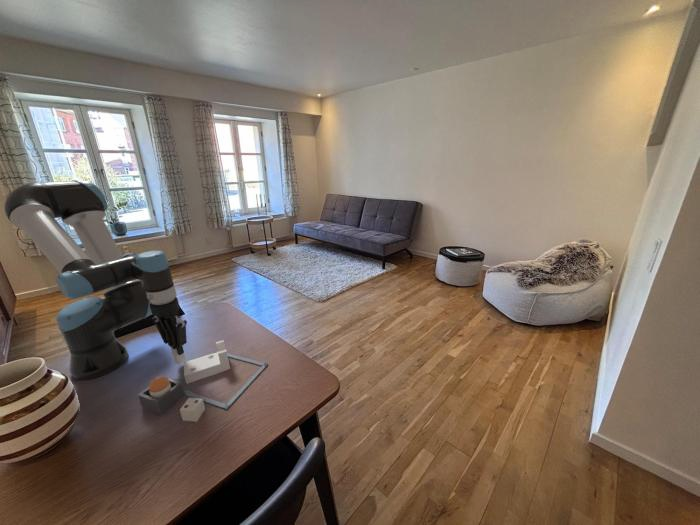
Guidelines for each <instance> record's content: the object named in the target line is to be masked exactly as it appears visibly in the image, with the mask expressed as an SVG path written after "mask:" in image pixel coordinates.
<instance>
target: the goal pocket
mask: <svg viewBox="0 0 700 525" xmlns="http://www.w3.org/2000/svg"><path fill="white" fill-rule="evenodd" d="M227 355H228V358H231V359H234V360H238V361H241V362H245V363H249V364H253V365H257V366H259V369H257V371H255V373H254V374H253V375H252V376H251V378H249V379H248V380H247V381H246V382H245V384H243V386H241V388H240V389H239V390H238V391H237V392H236V394H234V396H232V398H230V399H229V401H228V402H227V403H224V402H221V401H218V400H216V399H212V398H209V397H206V396H204V395H200V394H197V393H194V392H191V391H188V390H186V389H184V392H185V397H188V398H201V399H203V402H204V403H206V404H209V405H212V406H215V407H218V408H220V409H223V410H227V411H228V409H229V408H230V407H231V406H232V405H233V404H234V403H235V402H236V400H237V399H238V398H239V397H240V396H241V395H242V394H243V393H244V392H245V390H246V389H247V388H248V387H249V386H250V385H251V384H252V383H253V382H254V381H255V380H256V379H257V377H259V375H260V374H261V373H262V372H263V371H264V370H265V369H266V368H267V367H268V363H265V362H263V361H262V362H261V361H258V360H254V359H252V358H251V359H250V358H246V357H242V356H239V355H235V354H232V353H228V352H227Z"/></svg>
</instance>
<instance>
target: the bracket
mask: <svg viewBox="0 0 700 525" xmlns="http://www.w3.org/2000/svg"><path fill="white" fill-rule="evenodd" d="M225 344H226V343H225V340H224V339H223V340H219V341H216V342H215V346H216V350H217V352H214V353H210V354H206V355H203V356H201V357H197V358H193V359H191V360H188V361H183V376H184V379H185V382H186V384H187V385H188V384H191V383H193V382H195V381H199V380H201V379H205V378H208V377H211V376H213V375H214V376H215V375H216V374H217V375H218V374H220V373H222V372H225V371H228V370H231V365H230V360H229V357H228V355H227V353H228V350H227V349H226V345H225Z"/></svg>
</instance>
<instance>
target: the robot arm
mask: <svg viewBox="0 0 700 525" xmlns="http://www.w3.org/2000/svg"><path fill="white" fill-rule="evenodd" d="M8 194H9V195H8V196H7V197H6V199H5V202H4V213H5V215H6V218H7V219H8V220H9V221H10V223H11V224H12V225H14V226H15V227H16V228H18V229H20V230H22V231H24V232H25V233H26V235H27V236H28V237H29V238H30V240H32V242H33V243H34V244H35V245H36V246H37V248H38V249H39V250H40V251H41V252H42V254H43V255H44V256H45V257H46V258H47V259H48V260H49V262H50V263H51V264H52V265H53V266H54V267H55V269H56V270H57V271H58V272H59V274H57V275H56V277H55V279H56V280H55V281H56V284H57V286H58V288H59V290H60V292H61V293H62V295H63V296H64V297H66V298H67V299H69V300H74V299H77V298H78V299H79V298H81V299H80V300H77V301H74V302H72V303H69V304H68V305H66V306H64V307H63V308H62V309H61V310H60V311H59V312H58V313H57V314H56V318H55V319H56V323H57V327H58V330H59V332H60V333H61V335H62V337H63V340H64V342H65V344H66V346H67V348H68V350H69V353H70V360H69V361H70V362H69V372H70V374H71V377H72V378H73V379H74V380H78V381H86V380H93V379H95V378H99V377H102V376H104V375H107V374H109V373H111V372H112V371H115V370H117V369H118V368H119V367H121V366H122V365H123V364H124V363H125V362H126V361H127V359H128V358H129V352H128V350H127V348H126V347H125V345H123V344H122V343H121V342H120V340H118V339H117V338H116V335H115V331H116V330H117V331H118V330H119V329H122V328H124V327H126V326H129V325H131V324H134V323H137V322H138V321H141V320H143V319H146V318H147V317H149V316H151V315H153V316H154V317H152V318H151V320H152V322H153V324H154V325H155V326H156V329H157V330H158V333H159V335H160V336H161V339H162V341H163V343H164V344H165V345H166V344H167V345H168V347H170V349H171V353H172V356H173V359H174V363H175V364H177V365H179V364H181V363H182V362H185V360H186V355H185V351H184V346H185V345H186V344H187V342H188V341H187V324H188V321H187V320H186V319H184V320H182V319H181V317H180V313H178V311H179V309H180V302H179V299H178V297H177V295H178V294H177V292H176V287H175V284H174V280H173V276H172V272H171V269H170V262H169V260H168V257H167V254H166V253H165V252H164V251H162V250H149V251H145V252H142V253H136V252H128V253H125V254H123V253H122V252H121V250H120V249H119V246H118V245H117V244H116V241H115V240H114V238H113V236H112V234H111V232H110V230H109V228H108V226H107V224H106V223H105V221H104V218H105V217H106V216H107V213H106V211H108V202H107V199H106V197H105V195H104V193H103V192H102V190H101V189H100V188H99V186H97V185H96V184H95V183H93V182H91V181H88V180H77V179H75V180H74V179H73V180H69V181H68V180H66V181H49V182H48V181H47V182H31V183H26V184H25V183H24V184H23V185H22V184H21V185H20V186H18V187H16V188H14V189H13V190H12V191H11V192H10V193H8ZM59 218H61V220H62V221H63V223H64V224H65V225H67V226H70V227H72V228H73V230H74V231H75V233H76V236H78V238H79V240H80V243H81V245H82V246H83V248H84V249H82V248H81V246H80V245H79V244H78V243H77V242H76V241H75V240H74V238H72V236H71V235H70V234H69V233H68V232H67V231H66V229H65V228H63V226H62V225H61V224H60V223H59V222H58V221H57V219H59ZM84 250H85V251H84ZM101 291H103V293H102V294H103V297H104V298H101V297H99V296H91V295H92V294H94V293H98V292H101ZM87 296H91V297H87ZM82 297H87V298H82Z"/></svg>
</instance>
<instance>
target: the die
mask: <svg viewBox="0 0 700 525" xmlns="http://www.w3.org/2000/svg"><path fill="white" fill-rule="evenodd" d="M205 411H206V407H205V402H203V399H201V398H191V397H188V398H187V400H186V401H185V403H184V404H183V405H182V406H181V408H180V409H179V413H180V416H181V418H182V421H183V422H198V421H199V419H200V418H201V416H202V415H203V413H204V412H205Z"/></svg>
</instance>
